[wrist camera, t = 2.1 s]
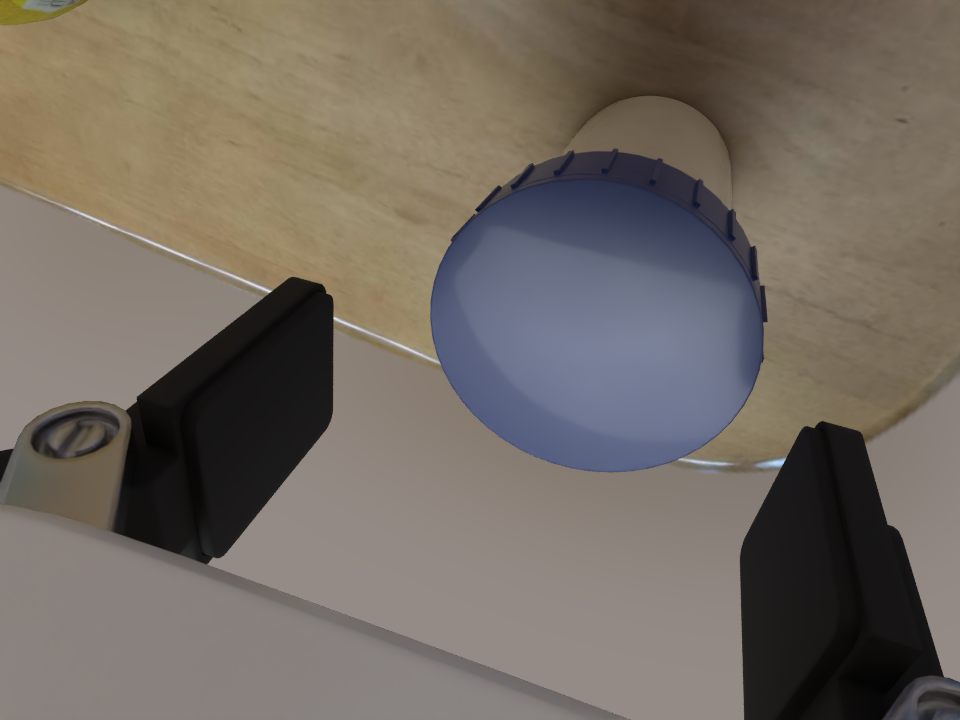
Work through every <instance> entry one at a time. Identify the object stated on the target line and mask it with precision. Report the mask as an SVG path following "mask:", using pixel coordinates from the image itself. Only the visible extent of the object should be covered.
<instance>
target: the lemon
mask: <svg viewBox="0 0 960 720" xmlns="http://www.w3.org/2000/svg"><path fill="white" fill-rule="evenodd" d="M86 1H87V0H0V25H18V24H24V23H30V22H37V21H42V20H47V19H52V18H55V17H57V16H59V15H61V14H63V13H66V12H68V11H70V10H72V9H73V8H75V7H77V6H79V5H81V4H83V3H85V2H86Z"/></svg>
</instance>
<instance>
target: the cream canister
mask: <svg viewBox="0 0 960 720" xmlns="http://www.w3.org/2000/svg"><path fill="white" fill-rule="evenodd" d="M613 148H616V149H618V152H623V153H629V154H636V155H640V156H644V157H647V158H651V159H654V160H657V159H658V158H661V159H663V163H665V164H667V165H670V166H672V167H674V168H676V169H679V170H681V171H682V172H684V173H686V174H687V175H689V176H691V177H692V178H694V179H695V180H697V181H698V180H699V179H701V180H703V181H704V184H703V185H704V186H705V187H706V188H707V189H709V190H710V191H711V192H712V193H713V194H715V195H716V196H717V197H718V198H719V199H720V200H721V202H722V203H723V204H724V205H725V206H726V207H727V208H728V209H729V210H731V185H732V173H731V163H730V157H729V154H728V150H727V147H726V145H725V143H724V141H723V139H722V137H721V135H720V134H719V132H718V131H717V129H716V127H715V126H714V125H713V124H712V123H711V122H710V121H709V120H708V119H707V118H706V117H705V116H704V115H703V114H701V113H700V112H699V111H697V110H696V109H694V108H693V107H691V106H689V105H687V104H685V103H683V102H680V101H678V100H674V99H671V98H667V97H660V96H639V97H632V98H628V99H625V100H621V101H618V102H616V103H614V104H611V105H609V106H607V107H606V108H604V109H602V110H601V111H599V112H598V113H597V114H595V115H594V116H593V117H591V118H590V119H589V120H588V121H587V122H586V123H585V124H584V125H583V126H582V127H581V129H580V130H579V131H578V132H577V134H576V135H575V136H574V137H573V139H572V140H571V141H570V142H569V144H568V145H567V146H566V147H565V149H564V150H563V151H562V152H561V154H560V155H559V156H558V157H561V156H565V155H566V154H567V153H568V151H572V150H573V151H574V153H582V152H590V151H612V150H613Z"/></svg>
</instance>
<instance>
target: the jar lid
mask: <svg viewBox="0 0 960 720" xmlns="http://www.w3.org/2000/svg"><path fill="white" fill-rule="evenodd" d="M703 184H704V181H703V180H701V179H699V180H698V181H697V180H695V179H694V178H692V177H691V176H689V175H687V174H686V173H684V172H682V171H681V170H679V169H676V168H674V167H672V166H670V165H667V164H665V163H663V159H661V158H658V159H657V160H654V159H651V158H647V157H644V156H640V155H636V154H629V153H623V152H618V149H616V148H613V150H612V151H590V152H582V153H574V151H573V150H572V151H568V153H567V154H566V155H565V156H561V157H557V158H553V159H550V160H548V161H545V162H543V163H540V164H538V165H535V166H534V165H533V163H532V164H530V165H528V166H527V167H526V168H525V170H524V171H523V172H522V173H521V174H519V175H517V176H516V177H514V178H513V179H512V180H511V181H509V182H508V183H507V184H505V185H504V186H503V187H502V188H501V187H500V186H499V185H498V186H497V187H496V188H495V189H494V190H493V191H492V192H491V193H490V194H489V195H488V197H487V198H486V199H485V200H484V201H483V202H482V203H481V204H480V205H479V206H478V207H477V208H476V209H475V210H476V211H477V212H478V213H477V214H476V215H475V214H474V215H473V216H472V217H471V218H470V219H469V220H468V221H467V222H466V223H465V224H464V225H463V226H462V227H461V229H460V230H459V231H458V232H457V233H456V234H455V235H454V236H453V237H452V239H451V241H452V243H451V245H450V246H449V247H448V249H447V251H446V253H445V255H444V257H443V259H442V261H441V263H440V265H439V269H438V272H437V275H436V278H435V281H434V285H433V291H432V297H431V317H430V318H431V328H432V336H433V340H434V344H435V348H436V353H437V355H438V358H439V361H440V363H441V366H442V368H443V371H444V373H445V375H446V376H447V378H448V380H449V382H450V384H451V386H452V387H453V389H454V390H455V392H456V393H457V395H458V396H459V397H460V399H461V400H462V402H463V403H464V404H465V405H466V406H467V407H468V409H469V410H470V411H471V412H472V413H473V414H474V415H475V416H476V417H477V418H478V419H479V420H480V421H481V422H482V423H483V424H484V425H485V426H487V428H489V429H490V430H492V431H493V432H494V433H495V434H497V435H498V436H499V437H501V438H502V439H504V440H505V441H507V442H509V443H511V444H512V445H513V446H515V447H517V448H518V449H520V450H522V451H525V452H527V453H529V454H531V455H533V456H535V457H537V458H540V459H543V460H546V461H548V462H551V463H554V464H558V465H562V466H565V467H569V468H574V469H580V470H587V471H596V472H626V471H635V470H642V469H648V468H652V467H656V466H659V465H663V464H667V463H670V462H672V461H675V460H677V459H679V458H682V457H684V456H686V455H688V454H690V453H692V452H694V451H696V450H697V449H699V448H701V447H703V446H704V445H705V444H707V443H708V442H709V441H711V440H712V439H713V438H715V437H716V436H717V435H719V434H720V433H721V432H722V431H723V430H724V429H725V428H726V427H727V426H728V425H729V424H730V423H731V422H732V421H733V419H734V418H735V417H736V415H737V414H738V413H739V411H740V410H741V409H742V407H743V406H744V404H745V403H746V401H747V399H748V397H749V395H750V393H751V392H752V390H753V387H754V385H755V382H756V379H757V376H758V373H759V371H760V365H761V363H763V360H764V355H763V336H764V328H763V322H767V308H766V297H765V286H760V281H759V274H758V262H757V250H756V247H755V246H753V247H751V245H750V243H749V241H748V239H747V237H746V235H745V233H744V231H743V229H742V227H741V226H740V224H739V223H738V222H737V220H736V212H735V211H734V210H733V209H732V210H729V209H728V208H727V207H726V206H725V205H724V204H723V203H722V202H721V200H720V199H719V198H718V197H717V196H716V195H715V194H713V193H712V192H711V191H710V190H709V189H707V188H706V187H705V186H704V185H703Z"/></svg>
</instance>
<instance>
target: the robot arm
mask: <svg viewBox="0 0 960 720" xmlns="http://www.w3.org/2000/svg"><path fill="white" fill-rule="evenodd" d="M332 414H333V298H332V296H331V295H329V294H326V290H325V287H324V286H323V285H322V284H319V283H315V282H311V281H308V280H304V279H300V278H297V277H291V278H289V279H287V280H286V281H285V282H283V283H282V284H281V285H280V286H278V287H277V288H276V289H274V290H273V291H272V292H271V293H269V294H268V295H267V296H266V297H264V298H263V299H262V300H260V301H259V302H258V303H257V304H255V305H254V306H253V307H251V308H250V309H249V310H248V311H246V312H245V313H244V314H243V315H241V316H240V317H239V318H237V319H236V320H235V321H234V322H232V323H231V324H230V325H228V326H227V327H226V328H225V329H223V330H222V331H221V332H219V333H218V334H217V335H216V336H214V337H213V338H212V339H210V340H209V341H208V342H207V343H205V344H204V345H203V346H202V347H200V348H199V349H198V350H196V351H195V352H194V353H193V354H191V355H190V356H189V357H187V358H186V359H185V360H184V361H182V362H181V363H180V364H179V365H177V366H176V367H175V368H173V369H172V370H171V371H170V372H168V373H167V374H166V375H165V376H163V377H162V378H161V379H159V380H158V381H157V382H156V383H154V384H153V385H152V386H150V387H149V388H148V389H146V390H145V391H144V392H143V393H141V394H140V395H139V396H138V397H137V402H136V403H135V404H133V405H132V406H131V407H130V408H128V409H127V410H126V411H125V410H123V409H121V408H120V407H118V406H116V405H114V404H110V403H106V402H101V401H83V402H76V403H69V404H66V405H63V406H59V407H56V408H53V409H50V410H49V411H47V412H45V413H43V414H41V415H39V416H37V417H36V418H35V419H33V420H32V421H31V422H30V423H29V424H27V425H26V426H25V428H24V429H23V430H22V432H21V434H20V435H19V437H18V439H17V442H16V445H15V447H14V449H9V450H4V451H0V720H630V719H627V718H624V717H622V716H619V715H616V714H613V713H611V712H608V711H606V710H602V709H600V708H598V707H595V706H592V705H589V704H587V703H584V702H581V701H579V700H576V699H573V698H571V697H568V696H565V695H562V694H560V693H557V692H555V691H552V690H549V689H546V688H544V687H541V686H538V685H536V684H533V683H530V682H528V681H525V680H522V679H520V678H517V677H514V676H511V675H509V674H506V673H503V672H501V671H498V670H495V669H492V668H490V667H487V666H484V665H482V664H479V663H476V662H473V661H471V660H468V659H465V658H463V657H459V656H457V655H454V654H452V653H449V652H446V651H443V650H441V649H438V648H435V647H432V646H430V645H427V644H424V643H422V642H419V641H416V640H413V639H411V638H408V637H405V636H403V635H400V634H397V633H394V632H392V631H389V630H386V629H383V628H381V627H378V626H375V625H372V624H370V623H367V622H364V621H361V620H359V619H356V618H353V617H350V616H348V615H345V614H342V613H340V612H337V611H334V610H331V609H329V608H326V607H323V606H320V605H318V604H315V603H312V602H309V601H306V600H303V599H301V598H298V597H295V596H293V595H290V594H287V593H284V592H281V591H278V590H276V589H273V588H270V587H268V586H265V585H262V584H259V583H256V582H254V581H251V580H248V579H245V578H243V577H240V576H237V575H234V574H232V573H229V572H226V571H223V570H220V569H218V568H215V567H212V566H209V565H207V564H208V563H209V562H210V560H211V559H212V558H213V557H215V558H220V557H222V556H224V555H225V553H227V551H228V550H229V549H230V548H231V546H232V545H233V544H234V543H235V541H236V540H237V539H238V538H239V537H240V535H241V534H242V533H243V532H244V530H245V529H246V528H247V527H248V525H249V524H250V523H251V522H252V520H253V519H254V518H255V517H256V515H257V514H258V513H259V512H260V510H261V509H262V508H263V507H264V506H265V504H266V503H267V502H268V501H269V499H270V498H271V497H272V496H273V495H274V493H275V492H276V491H277V490H278V488H279V487H280V486H281V485H282V483H283V482H284V481H285V480H286V478H287V477H288V476H289V475H290V473H291V472H292V471H293V470H294V469H295V467H296V466H297V465H298V464H299V462H300V461H301V460H302V459H303V458H304V456H305V455H306V454H307V452H308V451H309V450H310V449H311V448H312V446H313V445H314V444H315V443H316V441H317V440H318V439H319V438H320V436H321V435H322V434H323V433H324V432H325V430H326V429H327V427H328V425H329V423H330V421H331V418H332ZM740 576H741V577H740V578H741V579H740V580H741V616H742V652H743V686H744V687H743V688H744V720H960V682H958V681H955V680H953V679H950V678H945V677H944V676H943V673H942V669H941V666H940V662H939V659H938V656H937V653H936V650H935V646H934V642H933V639H932V636H931V633H930V629H929V626H928V623H927V619H926V616H925V612H924V609H923V606H922V602H921V599H920V596H919V592H918V589H917V586H916V582H915V579H914V576H913V573H912V569H911V566H910V562H909V559H908V556H907V553H906V549H905V546H904V542H903V539H902V537H901V535H900V533H899V531H898V530H897V529H896V528H894V527H893V526H890V525H887V521H886V517H885V514H884V510H883V507H882V503H881V499H880V496H879V492H878V489H877V486H876V482H875V478H874V475H873V471H872V468H871V464H870V461H869V457H868V454H867V450H866V446H865V443H864V439H863V436H862V434H861V432H859V431H857V430H853V429H849V428H846V427H842V426H838V425H835V424H831V423H827V422H824V421H822V422H819V423H818V424H817V425H816V427H815V428H811V427H808V426H805V427H804V428H803V429H802V430H801V432H800V433H799V435H798V437H797V439H796V441H795V443H794V445H793V447H792V448H791V450H790V452H789V454H788V456H787V458H786V460H785V462H784V464H783V466H782V468H781V470H780V471H779V473H778V476H777V477H776V479H775V481H774V483H773V485H772V487H771V489H770V491H769V493H768V495H767V497H766V498H765V500H764V502H763V504H762V506H761V508H760V510H759V512H758V514H757V516H756V518H755V519H754V521H753V523H752V525H751V527H750V529H749V531H748V533H747V535H746V537H745V539H744V542H743V545H742V548H741V554H740Z"/></svg>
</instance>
